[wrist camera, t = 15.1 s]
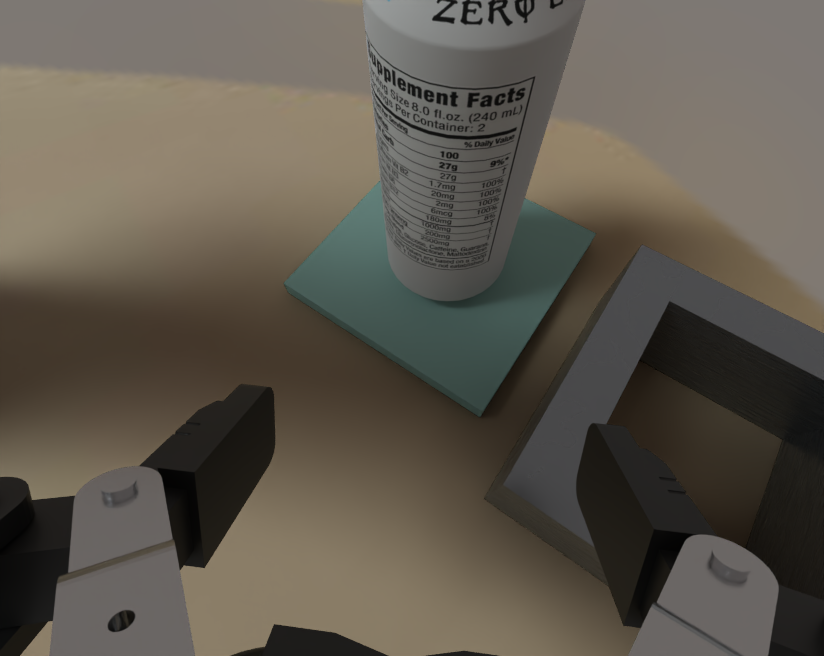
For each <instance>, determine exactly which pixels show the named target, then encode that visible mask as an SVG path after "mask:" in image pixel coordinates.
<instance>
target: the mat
mask: <svg viewBox="0 0 824 656" xmlns="http://www.w3.org/2000/svg"><path fill="white" fill-rule="evenodd" d="M595 235H596V233H594V232H592V231H590V230H588V229H586V228H584V227H582V226H580V225H578V224H576V223H574V222H572V221H570V220H568V219H566V218H564V217H562V216H560V215H558V214H556V213H554V212H552V211H550V210H548V209H546V208H544V207H542V206H540V205H538V204H536V203H534V202H532V201H529V200H527V199H524V202H523V205H522V208H521V211H520V215H519V218H518V221H517V224H516V228H515V231H514V234H513V237H512V241H511V244H510V247H509V250H508V254H507V257H506V260H505V263H504V267H503V269H502V271H501V273H500V275H499V277H498V278H497V279H496V281H495V282H494V283H493V284H492V285H491V286H490V287H488V288H487V289H486V290H484V291H483V292H482V293H479V294H477V295H475V296H473V297H471V298H467V299H463V300H458V301H439V300H433V299H429V298H426V297H423V296H421V295H418V294H416V293H414V292H413V291H411V290H410V289H408V288H407V287H406V286H404V285H403V284H402V283H401V282H400V281H399V279H398V278H397V277H396V275H395V274H394V272H393V270H392V269H391V266H390V263H389V260H388V251H387V241H386V231H385V221H384V211H383V201H382V191H381V181H379V182H378V183H377V184H376V185H375V186H374V187H373V188H372V190H371V191H370V192H369V193H368V194H367V195H366V196H365V197H364V198H363V199H362V200H361V201H360V202H359V203H358V204H357V206H356V207H355V208H354V209H353V210H352V211H351V212H350V213H349V214H348V215H347V216H346V217H345V218H344V219H343V220H342V221H341V223H340V224H339V225H338V226H337V227H336V228H335V229H334V230H333V231H332V232H331V233H330V234H329V235H328V236H327V237H326V239H325V240H324V241H323V242H322V243H321V244H320V245H319V246H318V247H317V248H316V249H315V250H314V251H313V252H312V253H311V254H310V256H309V257H308V258H307V259H306V260H305V261H304V262H303V263H302V264H301V265H300V266H299V267H298V268H297V269H296V270H295V272H294V273H293V274H292V275H291V276H290V277H289V278H288V279H287V280H286V281H285V282H284V285H285V287H286V289H287V291H288V293H290V294H291V295H293V296H294V297H296V298H297V299H299V300H300V301H302V302H303V303H305V304H306V305H308V306H310V307H311V308H313V309H314V310H316V311H317V312H319V313H320V314H322V315H323V316H325V317H326V318H328V319H330V320H331V321H333V322H334V323H336V324H337V325H339V326H340V327H342V328H343V329H345V330H346V331H348V332H349V333H351V334H353V335H354V336H356V337H357V338H359V339H360V340H362V341H363V342H365V343H366V344H368V345H369V346H371V347H373V348H374V349H376V350H377V351H379V352H380V353H382V354H383V355H385V356H386V357H388V358H389V359H391V360H393V361H394V362H396V363H397V364H399V365H400V366H402V367H403V368H405V369H406V370H408V371H409V372H411V373H412V374H414V375H416V376H417V377H419V378H420V379H422V380H423V381H425V382H426V383H428V384H429V385H431V386H432V387H434V388H436V389H437V390H439V391H440V392H442V393H443V394H445V395H446V396H448V397H449V398H451V399H452V400H454V401H455V402H457V403H459V404H460V405H462V406H463V407H465V408H466V409H468V410H469V411H471V412H472V413H474V414H475V415H477V416H479V417H481V415H482V413H483V412H484V410H485V409H486V407H487V406H488V404H489V402H490V401H491V399H492V398H493V396H494V395H495V393H496V391H497V390H498V388H499V387H500V385H501V384H502V382H503V380H504V379H505V377H506V376H507V374H508V373H509V371H510V369H511V368H512V366H513V365H514V363H515V362H516V360H517V358H518V357H519V355H520V354H521V352H522V351H523V349H524V347H525V346H526V344H527V343H528V341H529V340H530V338H531V336H532V335H533V333H534V332H535V330H536V329H537V327H538V325H539V324H540V322H541V321H542V319H543V318H544V316H545V314H546V313H547V311H548V310H549V308H550V307H551V305H552V303H553V302H554V300H555V299H556V297H557V296H558V294H559V292H560V291H561V289H562V288H563V286H564V285H565V283H566V281H567V280H568V278H569V277H570V275H571V274H572V272H573V270H574V269H575V267H576V266H577V264H578V263H579V261H580V260H581V258H582V256H583V255H584V253H585V252H586V250H587V249H588V247H589V245H590V244H591V242H592V240H593V238H594V237H595Z"/></svg>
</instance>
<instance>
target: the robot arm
mask: <svg viewBox="0 0 824 656" xmlns="http://www.w3.org/2000/svg"><path fill="white" fill-rule="evenodd" d="M274 448H275V416H274V394H273V390H272V388H271V387H264V386H255V385H246V384H241V385H239V386H238V387H237V388H236V389H235V390H234V391H233V392H232V393H231V394H230V395H229V396H228V397H227V398H226V399H225V400H224V401H216V402H214V403H212V404H210V405H208V406H206V407H204V408H202V409H200V410H198V411H197V412H196V413H195V414H194V415H193V416H192V417H191V418H190V419H189V420H187V421H186V424H183V425H182V426H181V427H180V428H179V429H178V430H177V431H176V433H175V435H174V434H173V435H172V436H171V437H169V438H168V439H167V440H166V441H165V442H164V443H163V444H162V445H161V446H160V447H159V448H158V449H157V450H156V451H155V452H154V453H153V454H151V455H150V456H149V457H148V458H147V459H146V460H145V461H144V462H143V463H142V464H141V465H140V466H132V467H124V468H119V469H116V470H112V471H109V472H106V473H104V474H102V475H100V476H97V477H96V478H94V479H92V480H91V481H89V482H88V483H86V484H85V485H84V486H83V487H82V488H81V489H80V490H79V491H78V492H77V494H76V496H68V497H58V498H49V499H39V500H32V498H31V494H30V491H29V487H28V484H27V483H26V482H25V481H24V480H22V479H19V478H15V477H0V656H20V655H21V654H22V652H23V651H24V650H25V649H26V648H27V646H28V645H29V644H30V643H31V642H32V640H33V639H34V638H35V637H36V636H37V634H38V633H39V632H40V631H41V630H42V628H43V627H44V626H45V625H46V623H47V622H48V621H53V625H52V635H51V645H50V654H49V656H195V652H194V647H193V641H192V636H191V630H190V624H189V619H188V613H187V608H186V602H185V597H184V591H183V586H182V580H181V575H180V570H181V568H182V567H183V565H186V566H194V567H201V568H205V566H206V565H207V563H208V562H209V560H210V558H211V557H212V555H213V554H214V552H215V550H216V549H217V547H218V546H219V544H220V542H221V541H222V539H223V538H224V536H225V534H226V533H227V531H228V530H229V528H230V527H231V525H232V523H233V522H234V520H235V519H236V517H237V515H238V514H239V512H240V511H241V509H242V507H243V506H244V504H245V503H246V501H247V499H248V498H249V496H250V495H251V493H252V491H253V490H254V488H255V487H256V485H257V483H258V482H259V480H260V479H261V477H262V475H263V474H264V472H265V471H266V469H267V467H268V466H269V464H270V462H271V459H272V457H273V453H274ZM576 495H577V500H578V504H579V506H580V509H581V512H582V514H583V517H584V520H585V523H586V525H587V528H588V531H589V533H590V536H591V539H592V541H593V544H594V547H595V550H596V552H597V555H598V558H599V560H600V563H601V566H602V569H603V571H604V574H605V577H606V579H607V582H608V585H609V588H610V590H611V593H612V596H613V598H614V601H615V604H616V607H617V609H618V612H619V615H620V617H621V620H622V623H623V626H630V627H638V628H641V629H640V631H639V633H638V635H637V638H636V640H635V642H634V644H633V646H632V648H631V650H630V652H629V655H628V656H824V600H821V599H818V598H815V597H812V596H809V595H807V594H804V593H801V592H798V591H795V590H792V589H789V588H786V587H784V586H781V585H778V582H777V580H776V578H775V576H774V574H773V573H772V572H771V570H770V569H769V568H768V567H767V566H766V565H765V564H764V563H763V562H762V561H761V560H760V559H759V558H758V557H756V556H755V555H754V554H752V553H751V552H749V551H748V550H746V549H745V548H743V547H741V546H739V545H737V544H735V543H733V542H731V541H729V540H726V539H723V538H720V537H718V536H717V535H716V534H715V532H714V531H713V529H712V528H711V527H710V525H709V524H708V522H707V521H706V520H705V518H704V517H703V515H702V514H701V513H700V511H699V510H698V508H697V507H696V506H695V504H694V503H693V501H692V500H691V499H690V497H689V496H688V495H686V492H685V490H684V489H683V487H682V486H681V485H680V483H679V482H676V478H675V476H674V475H673V473H672V472H671V471H670V469H669V468H668V466H667V465H666V464H665V463H664V462H663V461H662V460H660V459H659V458H658V457H656V456H655V455H654V454H653V453H651V452H650V451H649V450H647V449H641V448H639V446H638V445H637V443H636V442H635V440H634V439H633V437H632V436H631V434H630V433H629V431H628V430H627V428H626V427H624V426H617V425H608V424H599V423H592V424H591V425H590V426H589V428H588V431H587V434H586V439H585V443H584V447H583V452H582V456H581V460H580V464H579V469H578V473H577V479H576ZM231 656H388V655H385V654H383V653H381V652H378V651H376V650H374V649H371V648H369V647H367V646H364V645H362V644H360V643H357V642H355V641H353V640H350V639H348V638H346V637H343V636H341V635H339V634H336V633H332V632H325V631H318V630H311V629H304V628H297V627H289V626H282V625H275V624H274V626H273V628H272V631H271V634H270V636H269V639H268V641H267V644H266V646H265V647H261V648H255V649H251V650H247V651H243V652H239V653H237V654H234V655H231ZM428 656H497V655H490V654H483V653H476V652H469V651H459V652H451V653H443V654H435V655H428Z"/></svg>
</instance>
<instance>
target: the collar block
mask: <svg viewBox="0 0 824 656" xmlns="http://www.w3.org/2000/svg"><path fill="white" fill-rule="evenodd" d="M639 360H641V361H643V362H644V363H646V364H648V365H650V366H652V367H653V368H655V369H657V370H659V371H660V372H662V373H664V374H666V375H668V376H669V377H671V378H673V379H675V380H677V381H678V382H680V383H682V384H684V385H686V386H687V387H689V388H691V389H693V390H695V391H696V392H698V393H700V394H702V395H704V396H705V397H707V398H709V399H711V400H713V401H714V402H716V403H718V404H720V405H722V406H723V407H725V408H727V409H729V410H730V411H732V412H734V413H736V414H738V415H739V416H741V417H743V418H745V419H747V420H748V421H750V422H752V423H754V424H756V425H757V426H759V427H761V428H763V429H765V430H766V431H768V432H770V433H772V434H774V435H775V436H777V437H779V438H781V439H783V441H782V444H781V447H780V450H779V453H778V456H777V459H776V462H775V465H774V468H773V470H772V473H771V476H770V479H769V482H768V485H767V488H766V491H765V494H764V497H763V499H762V502H761V505H760V508H759V511H758V514H757V517H756V520H755V523H754V526H753V528H752V531H751V534H750V537H749V540H748V543H747V546H746V550H748V551H749V552H751V553H752V554H754V555H755V556H756V557H758V558H759V559H760V560H761V561H762V562H763V563H764V564H765V565H766V566H767V567H768V568H769V569H770V570H771V572H772V573H773V574H774V576H775V578H776V580H777V582H778V585H781V586H784V587H786V588H789V589H792V590H795V591H798V592H801V593H804V594H807V595H809V596H812V597H815V598H818V599H821V600H824V333H822V332H820V331H818V330H816V329H814V328H812V327H810V326H808V325H806V324H804V323H802V322H800V321H798V320H796V319H793V318H791V317H789V316H787V315H785V314H783V313H781V312H779V311H777V310H775V309H773V308H771V307H769V306H767V305H765V304H763V303H761V302H759V301H757V300H755V299H753V298H751V297H748V296H746V295H744V294H742V293H740V292H738V291H736V290H734V289H732V288H730V287H728V286H726V285H724V284H722V283H720V282H718V281H716V280H714V279H712V278H710V277H708V276H706V275H704V274H701V273H699V272H697V271H695V270H693V269H691V268H689V267H687V266H685V265H683V264H681V263H679V262H677V261H675V260H673V259H671V258H669V257H667V256H665V255H663V254H661V253H659V252H657V251H654V250H652V249H650V248H648V247H646V246H644V245H641V247H640V248H639V249H638V251H637V252H636V253H635V255H634V256H633V257H632V259H631V260H630V261H629V263H628V264H627V265H626V267H625V268H624V269H623V271H622V272H621V273H620V275H619V276H618V277H617V279H616V280H615V281H614V283H613V284H612V285H611V287H610V288H609V289H608V291H607V292H606V294H605V295H604V296H603V298H602V299H601V300H600V302H599V304H598V305H597V307H596V309H595V310H594V312H593V314H592V315H591V317H590V319H589V321H588V322H587V324H586V326H585V327H584V329H583V331H582V332H581V334H580V336H579V338H578V339H577V341H576V343H575V344H574V346H573V348H572V349H571V351H570V353H569V355H568V356H567V358H566V360H565V361H564V363H563V365H562V366H561V368H560V370H559V372H558V373H557V375H556V377H555V378H554V380H553V382H552V383H551V385H550V387H549V389H548V390H547V392H546V394H545V395H544V397H543V399H542V400H541V402H540V404H539V406H538V407H537V409H536V411H535V412H534V414H533V416H532V417H531V419H530V421H529V423H528V424H527V426H526V428H525V429H524V431H523V433H522V434H521V436H520V438H519V440H518V441H517V443H516V445H515V446H514V448H513V450H512V451H511V453H510V455H509V457H508V458H507V460H506V462H505V463H504V465H503V467H502V468H501V470H500V472H499V474H498V475H497V477H496V479H495V480H494V482H493V484H492V485H491V487H490V489H489V491H488V492H487V494H486V496H485V497H484V499H485V500H487V501H488V502H489V503H491V504H492V505H494V506H495V507H497V508H498V509H499V510H501V511H502V512H504V513H505V514H507V515H508V516H509V517H511V518H512V519H514V520H515V521H516V522H518V523H519V524H521V525H522V526H524V527H525V528H526V529H528V530H529V531H531V532H532V533H534V534H535V535H536V536H538V537H539V538H541V539H542V540H544V541H545V542H546V543H548V544H549V545H551V546H552V547H554V548H555V549H556V550H558V551H559V552H561V553H562V554H564V555H565V556H566V557H568V558H569V559H571V560H572V561H574V562H575V563H576V564H578V565H579V566H581V567H582V568H584V569H585V570H586V571H588V572H589V573H591V574H592V575H593V576H595V577H596V578H598V579H599V580H601V581H602V582H603V583H605V584H606V585H608V582H607V579H606V577H605V574H604V571H603V569H602V566H601V563H600V560H599V558H598V555H597V552H596V550H595V547H594V544H593V541H592V539H591V536H590V533H589V531H588V528H587V525H586V523H585V520H584V517H583V514H582V512H581V509H580V506H579V504H578V500H577V495H576V479H577V473H578V469H579V464H580V460H581V456H582V452H583V447H584V443H585V439H586V434H587V431H588V428H589V426H590V425H591V424H592V423H599V424H606V423H607V422H608V420H609V418H610V416H611V414H612V412H613V410H614V408H615V406H616V404H617V402H618V400H619V398H620V396H621V394H622V392H623V390H624V389H625V387H626V385H627V383H628V381H629V379H630V377H631V375H632V373H633V371H634V369H635V367H636V365H637V363H638V361H639ZM608 586H609V585H608Z"/></svg>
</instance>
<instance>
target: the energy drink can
mask: <svg viewBox="0 0 824 656" xmlns="http://www.w3.org/2000/svg"><path fill="white" fill-rule="evenodd" d="M584 3H585V0H363V10H364V19H365V30H366V40H367V50H368V60H369V70H370V80H371V91H372V101H373V111H374V121H375V131H376V141H377V151H378V161H379V171H380V181H381V191H382V201H383V211H384V221H385V231H386V241H387V251H388V260H389V263H390V266H391V269H392V270H393V272H394V274H395V275H396V277H397V278H398V279H399V281H400V282H401V283H402V284H403V285H404V286H406V287H407V288H408V289H410V290H411V291H413V292H414V293H416V294H418V295H421V296H423V297H426V298H429V299H433V300H439V301H458V300H463V299H467V298H471V297H473V296H475V295H477V294H479V293H482V292H483V291H484V290H486V289H487V288H488V287H490V286H491V285H492V284H493V283H494V282H495V281H496V279H497V278H498V277H499V275H500V273H501V271H502V269H503V267H504V263H505V260H506V257H507V254H508V250H509V247H510V244H511V241H512V237H513V234H514V231H515V228H516V224H517V221H518V218H519V215H520V211H521V208H522V205H523V202H524V199H525V195H526V192H527V189H528V186H529V182H530V179H531V176H532V173H533V169H534V166H535V163H536V160H537V156H538V153H539V150H540V147H541V143H542V140H543V137H544V134H545V130H546V127H547V124H548V121H549V118H550V114H551V111H552V108H553V105H554V101H555V98H556V95H557V91H558V88H559V85H560V81H561V78H562V75H563V72H564V69H565V66H566V62H567V59H568V56H569V53H570V49H571V46H572V43H573V40H574V36H575V33H576V30H577V27H578V24H579V20H580V17H581V14H582V10H583V7H584Z"/></svg>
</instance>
